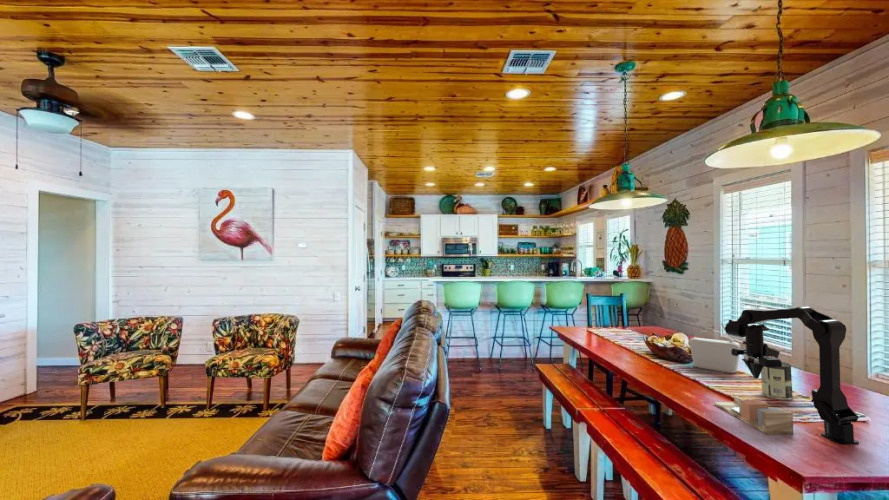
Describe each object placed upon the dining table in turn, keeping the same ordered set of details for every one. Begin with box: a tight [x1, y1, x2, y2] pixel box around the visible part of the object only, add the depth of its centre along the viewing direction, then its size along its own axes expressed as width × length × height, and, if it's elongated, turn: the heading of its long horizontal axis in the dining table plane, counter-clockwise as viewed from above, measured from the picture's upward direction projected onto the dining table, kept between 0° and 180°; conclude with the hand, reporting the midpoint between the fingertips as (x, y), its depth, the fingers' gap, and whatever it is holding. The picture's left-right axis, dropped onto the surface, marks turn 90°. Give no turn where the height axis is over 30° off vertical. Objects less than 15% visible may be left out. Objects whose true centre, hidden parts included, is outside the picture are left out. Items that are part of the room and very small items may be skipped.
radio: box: [688, 322, 741, 374], centre depth 200 cm, size 22×8×25 cm, turn 43°
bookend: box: [730, 399, 759, 415], centre depth 144 cm, size 6×7×6 cm
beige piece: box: [714, 395, 795, 436], centre depth 142 cm, size 26×9×8 cm, turn 179°
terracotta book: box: [741, 399, 769, 421], centre depth 139 cm, size 4×7×6 cm, turn 89°
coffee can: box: [760, 361, 794, 401], centre depth 162 cm, size 10×10×14 cm
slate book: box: [758, 407, 781, 427], centre depth 132 cm, size 3×7×6 cm, turn 89°
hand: (756, 378), depth 150 cm, fingers closed
